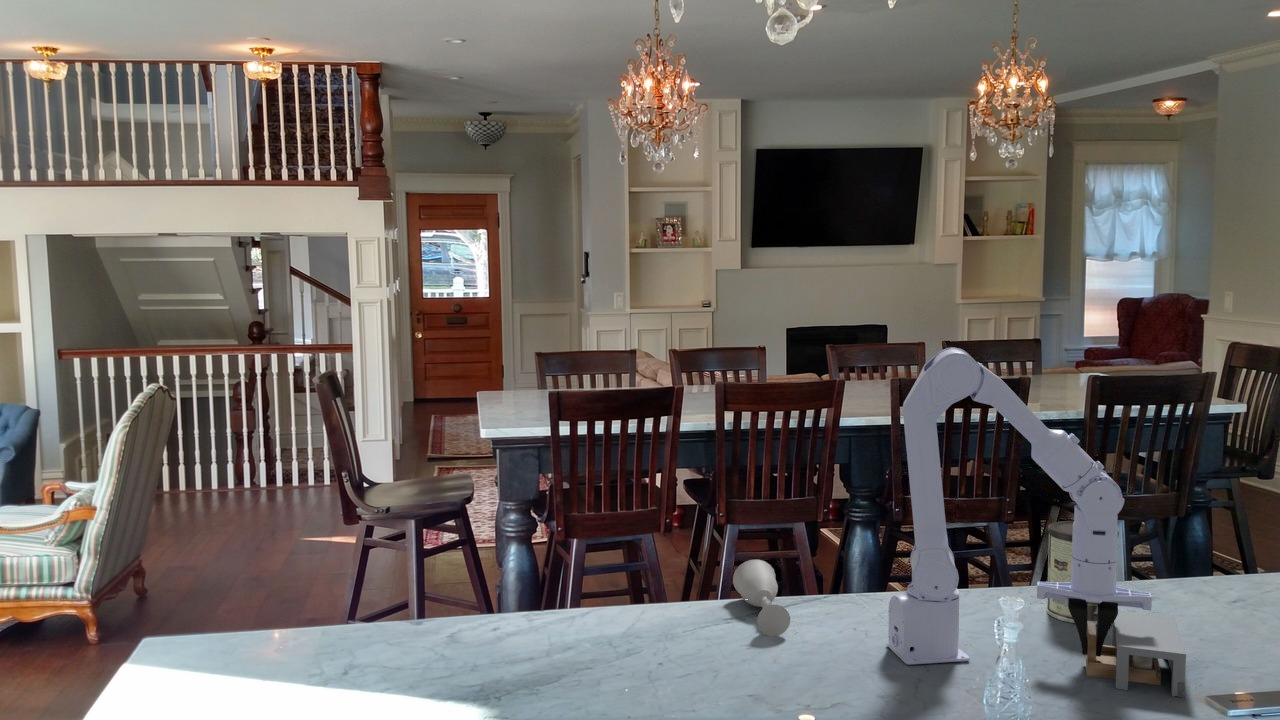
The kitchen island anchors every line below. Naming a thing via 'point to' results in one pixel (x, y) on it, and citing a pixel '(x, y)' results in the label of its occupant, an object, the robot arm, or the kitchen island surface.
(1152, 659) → the tray
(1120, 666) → the shelf
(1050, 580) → the coffee can
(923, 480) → the robot arm
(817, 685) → the kitchen island surface
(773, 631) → the chalice
